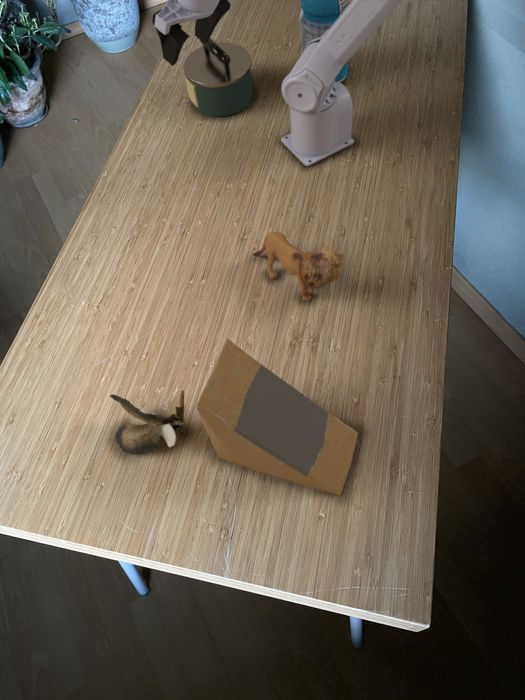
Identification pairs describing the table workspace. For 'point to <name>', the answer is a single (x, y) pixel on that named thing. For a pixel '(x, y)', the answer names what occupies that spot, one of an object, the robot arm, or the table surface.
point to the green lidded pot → (219, 78)
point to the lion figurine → (302, 262)
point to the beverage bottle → (321, 22)
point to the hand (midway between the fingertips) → (185, 49)
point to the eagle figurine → (148, 428)
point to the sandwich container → (273, 425)
